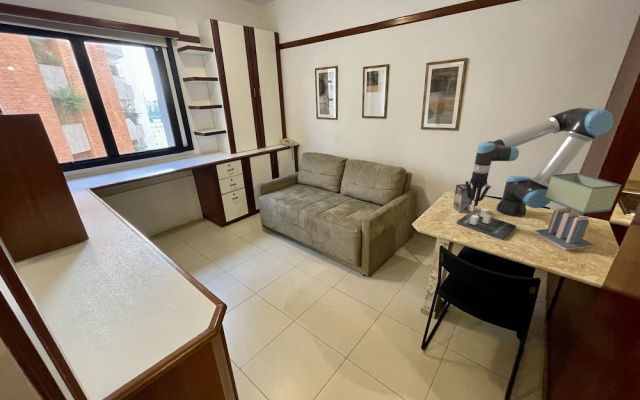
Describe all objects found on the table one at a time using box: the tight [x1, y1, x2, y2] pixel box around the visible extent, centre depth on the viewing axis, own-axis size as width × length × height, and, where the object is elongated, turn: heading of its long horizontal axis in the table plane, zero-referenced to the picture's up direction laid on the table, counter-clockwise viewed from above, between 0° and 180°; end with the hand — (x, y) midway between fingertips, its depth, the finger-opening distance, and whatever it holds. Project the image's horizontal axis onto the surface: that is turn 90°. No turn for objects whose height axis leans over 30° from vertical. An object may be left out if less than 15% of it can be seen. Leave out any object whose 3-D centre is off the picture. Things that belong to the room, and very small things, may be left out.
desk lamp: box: [534, 172, 622, 251], centre depth 123 cm, size 18×14×33 cm
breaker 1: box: [470, 215, 479, 225], centre depth 144 cm, size 3×3×4 cm
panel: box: [456, 211, 517, 241], centre depth 146 cm, size 18×24×2 cm
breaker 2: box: [479, 208, 490, 217], centre depth 151 cm, size 3×3×4 cm
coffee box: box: [452, 183, 472, 213], centre depth 164 cm, size 9×6×16 cm
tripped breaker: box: [482, 213, 493, 224], centre depth 144 cm, size 3×3×5 cm
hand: (472, 210), depth 149 cm, fingers closed
